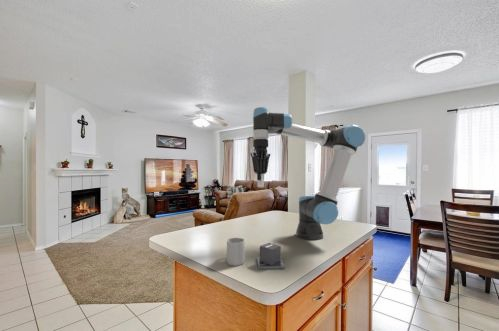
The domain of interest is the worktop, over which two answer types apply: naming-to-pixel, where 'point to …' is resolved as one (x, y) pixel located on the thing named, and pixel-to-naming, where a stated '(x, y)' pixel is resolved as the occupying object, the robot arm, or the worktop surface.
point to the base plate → (266, 266)
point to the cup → (235, 251)
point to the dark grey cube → (270, 253)
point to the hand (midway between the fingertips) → (260, 186)
